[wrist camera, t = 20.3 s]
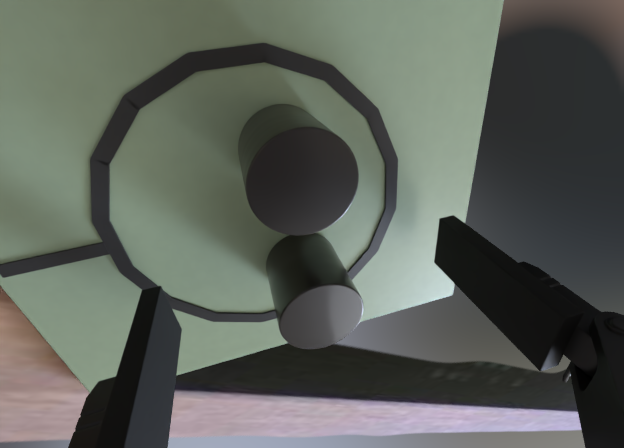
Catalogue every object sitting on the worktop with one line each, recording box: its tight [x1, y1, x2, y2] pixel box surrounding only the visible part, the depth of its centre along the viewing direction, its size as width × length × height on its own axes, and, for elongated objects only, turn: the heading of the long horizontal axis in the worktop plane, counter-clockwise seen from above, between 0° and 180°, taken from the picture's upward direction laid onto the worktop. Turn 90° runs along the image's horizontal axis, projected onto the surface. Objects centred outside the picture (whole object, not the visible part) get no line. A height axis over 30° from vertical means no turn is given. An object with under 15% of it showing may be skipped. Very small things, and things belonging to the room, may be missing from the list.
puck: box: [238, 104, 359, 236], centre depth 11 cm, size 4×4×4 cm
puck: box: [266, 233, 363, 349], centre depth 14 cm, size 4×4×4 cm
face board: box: [0, 0, 504, 393], centre depth 15 cm, size 22×18×1 cm
